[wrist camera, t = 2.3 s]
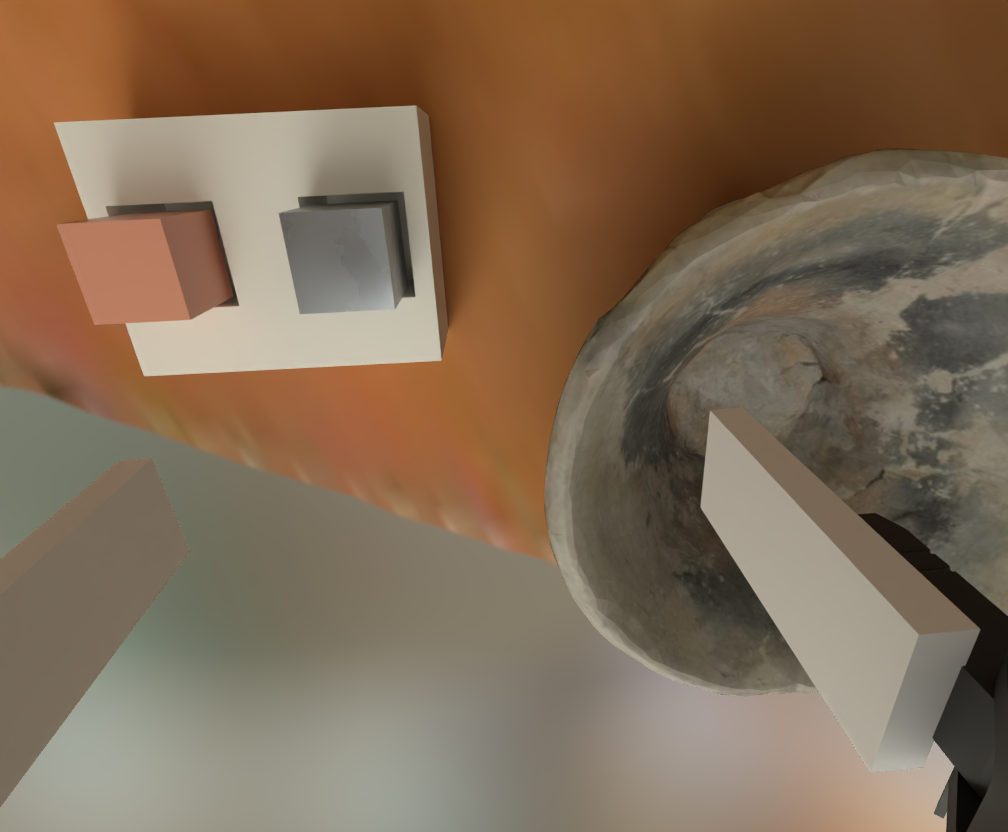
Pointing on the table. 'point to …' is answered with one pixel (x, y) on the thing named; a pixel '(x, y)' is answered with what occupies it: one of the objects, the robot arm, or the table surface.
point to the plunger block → (272, 227)
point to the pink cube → (147, 265)
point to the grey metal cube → (345, 256)
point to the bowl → (791, 400)
